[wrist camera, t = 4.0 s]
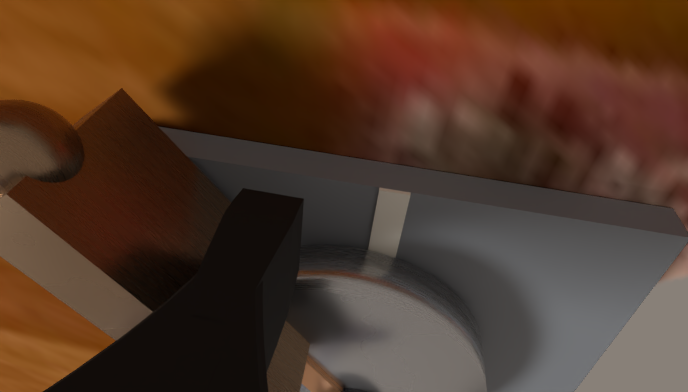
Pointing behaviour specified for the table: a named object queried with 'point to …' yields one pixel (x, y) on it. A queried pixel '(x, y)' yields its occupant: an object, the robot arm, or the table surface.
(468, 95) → the table surface
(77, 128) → the cam
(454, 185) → the stand plate
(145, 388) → the robot arm
